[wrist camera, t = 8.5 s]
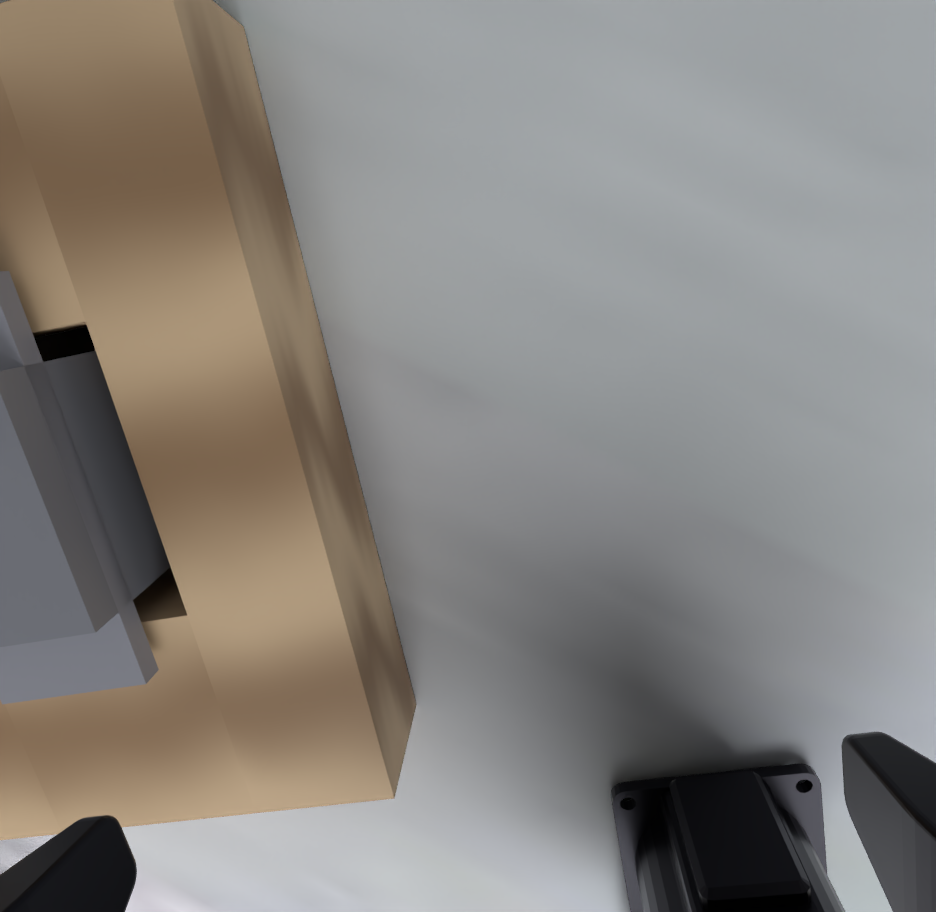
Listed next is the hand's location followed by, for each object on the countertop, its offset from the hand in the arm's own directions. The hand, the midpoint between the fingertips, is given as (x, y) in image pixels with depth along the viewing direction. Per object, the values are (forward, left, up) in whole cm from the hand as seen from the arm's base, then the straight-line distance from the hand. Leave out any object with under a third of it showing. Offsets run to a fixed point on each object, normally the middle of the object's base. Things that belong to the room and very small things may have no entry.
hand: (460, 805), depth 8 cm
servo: (+3, +11, -12) cm, 17 cm away
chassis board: (+3, +11, -12) cm, 17 cm away
